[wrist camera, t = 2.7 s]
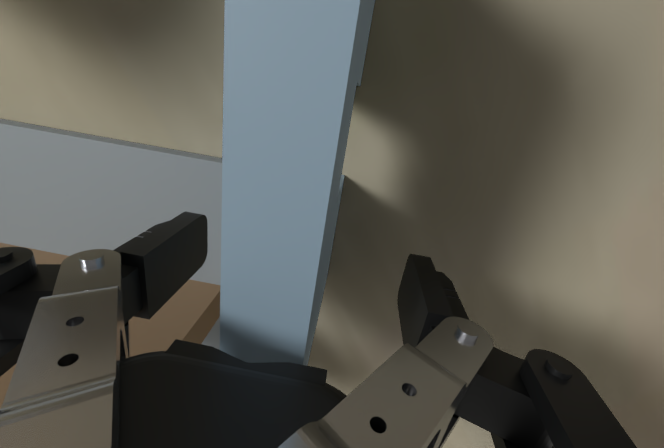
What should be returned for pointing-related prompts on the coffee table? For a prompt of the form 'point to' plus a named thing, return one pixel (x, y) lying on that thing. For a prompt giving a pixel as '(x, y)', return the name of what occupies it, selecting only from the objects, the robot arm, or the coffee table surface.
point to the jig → (111, 215)
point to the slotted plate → (283, 165)
